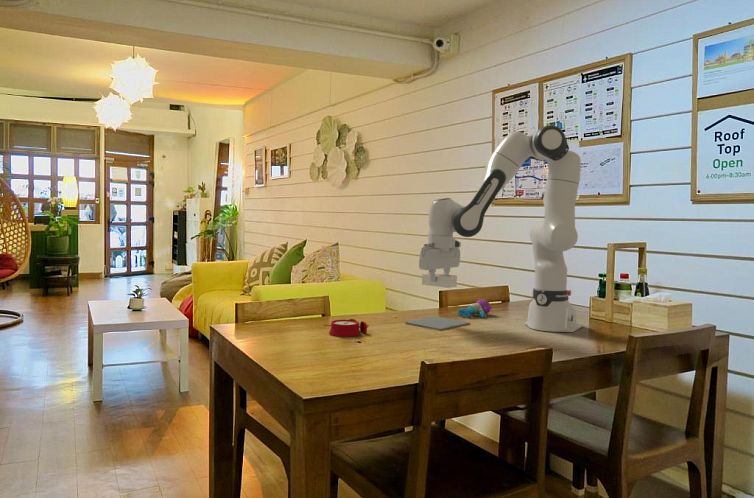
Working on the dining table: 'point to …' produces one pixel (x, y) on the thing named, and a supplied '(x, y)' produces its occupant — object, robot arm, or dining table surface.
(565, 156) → the robot arm
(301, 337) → the dining table surface
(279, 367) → the dining table surface
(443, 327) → the mat
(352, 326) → the alarm clock
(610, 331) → the dining table surface
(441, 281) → the white rectangular block
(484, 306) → the toy
